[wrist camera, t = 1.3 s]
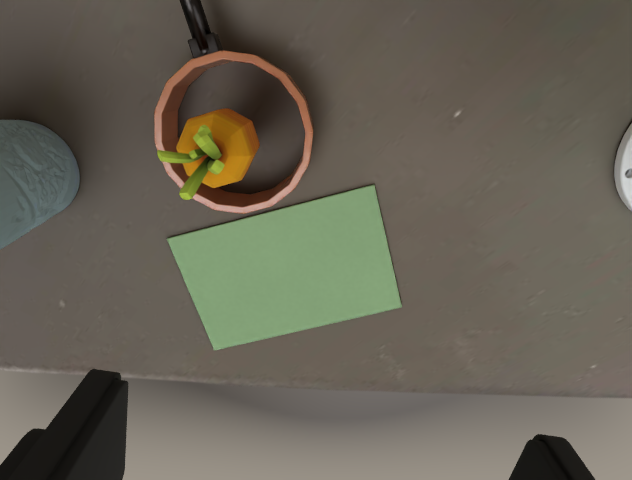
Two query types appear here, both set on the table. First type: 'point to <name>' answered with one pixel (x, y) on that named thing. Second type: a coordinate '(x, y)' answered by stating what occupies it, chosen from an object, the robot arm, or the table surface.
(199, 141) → the carrot
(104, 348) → the table surface
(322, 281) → the napkin
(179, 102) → the pan
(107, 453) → the robot arm
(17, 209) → the drinking glass
